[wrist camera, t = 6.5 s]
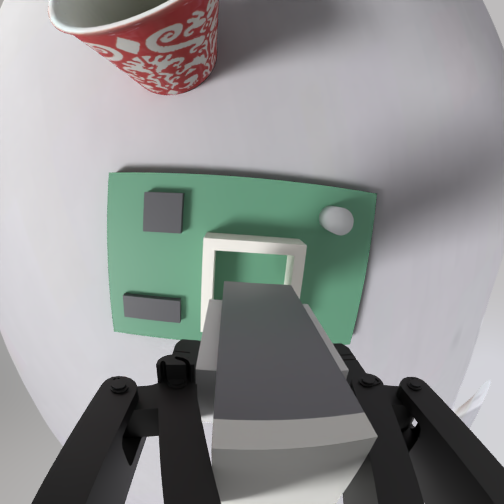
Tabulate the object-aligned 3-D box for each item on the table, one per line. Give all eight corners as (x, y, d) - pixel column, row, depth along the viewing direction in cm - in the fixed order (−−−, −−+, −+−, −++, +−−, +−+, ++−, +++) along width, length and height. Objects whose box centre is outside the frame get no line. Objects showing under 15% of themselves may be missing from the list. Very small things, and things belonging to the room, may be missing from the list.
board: (114, 173, 21) (95, 171, 18) (370, 193, 23) (391, 195, 19) (118, 325, 24) (104, 344, 21) (345, 338, 26) (359, 358, 22)
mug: (229, 102, 21) (226, 8, 8) (123, 114, 20) (28, 58, 7) (228, -8, 18) (228, -108, 5) (135, 4, 17) (87, -78, 4)
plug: (224, 281, 17) (211, 448, 5) (291, 284, 17) (377, 436, 5) (221, 340, 18) (213, 512, 6) (282, 342, 18) (334, 504, 6)
